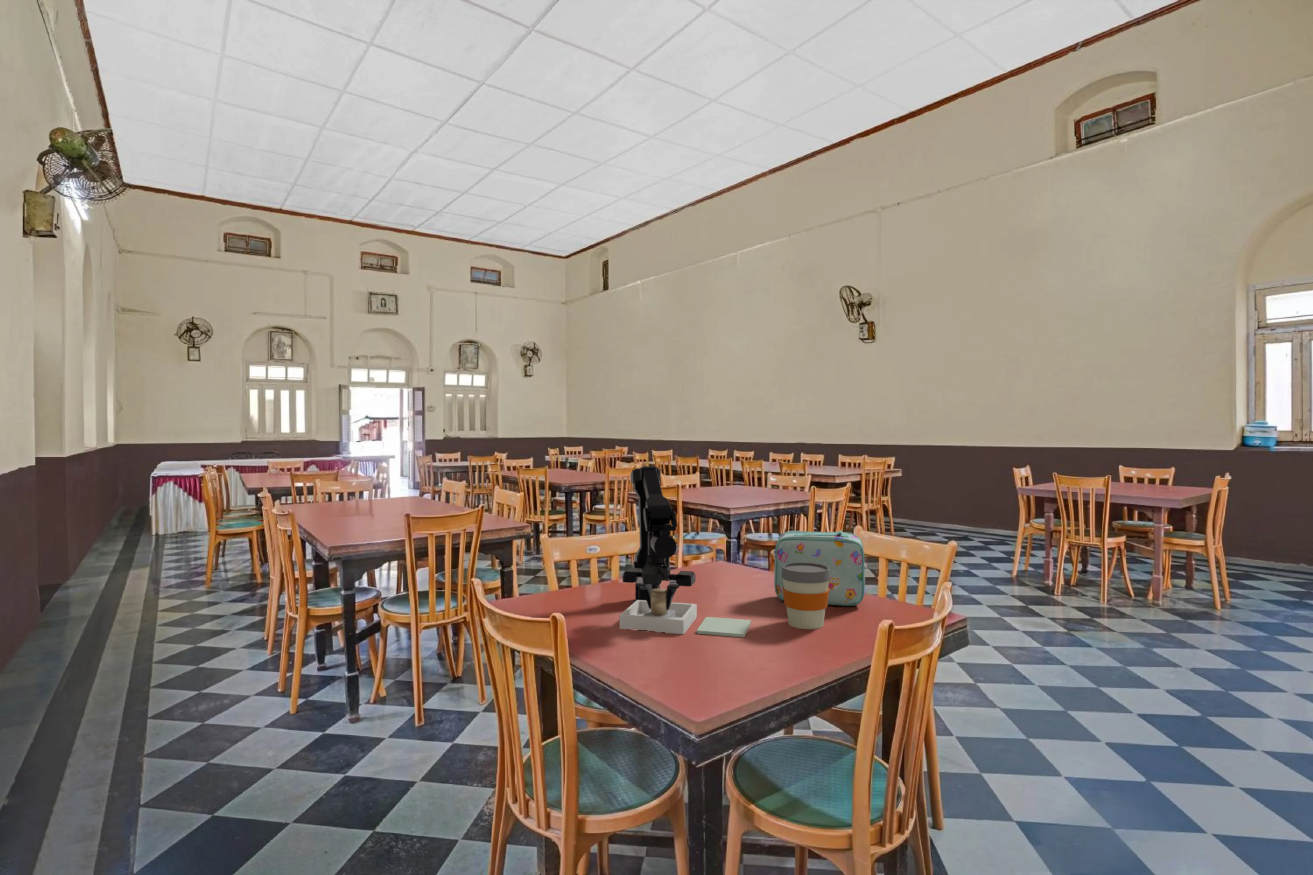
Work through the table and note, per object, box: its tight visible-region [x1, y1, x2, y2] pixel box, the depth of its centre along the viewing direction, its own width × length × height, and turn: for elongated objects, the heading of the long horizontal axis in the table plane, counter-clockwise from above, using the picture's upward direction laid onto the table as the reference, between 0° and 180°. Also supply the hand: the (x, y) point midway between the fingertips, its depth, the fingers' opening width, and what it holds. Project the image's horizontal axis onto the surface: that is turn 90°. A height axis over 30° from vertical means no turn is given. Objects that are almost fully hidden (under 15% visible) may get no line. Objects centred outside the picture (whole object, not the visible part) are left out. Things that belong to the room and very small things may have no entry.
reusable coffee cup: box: [781, 562, 830, 630], centre depth 174 cm, size 13×13×15 cm
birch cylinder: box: [651, 587, 668, 615], centre depth 176 cm, size 4×4×6 cm
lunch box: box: [773, 530, 869, 607], centre depth 195 cm, size 27×10×21 cm, turn 74°
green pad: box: [696, 616, 752, 638], centre depth 171 cm, size 12×12×1 cm
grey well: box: [619, 600, 698, 635], centre depth 176 cm, size 17×15×4 cm
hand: (659, 609), depth 176 cm, fingers closed on birch cylinder, 4 cm apart
